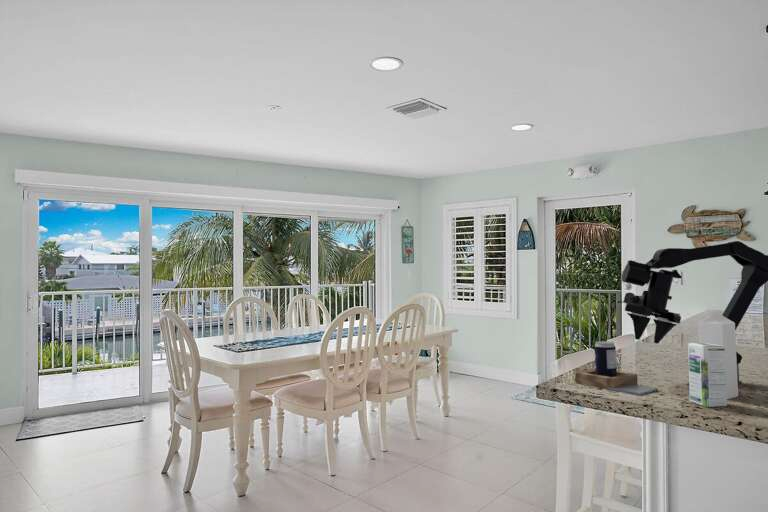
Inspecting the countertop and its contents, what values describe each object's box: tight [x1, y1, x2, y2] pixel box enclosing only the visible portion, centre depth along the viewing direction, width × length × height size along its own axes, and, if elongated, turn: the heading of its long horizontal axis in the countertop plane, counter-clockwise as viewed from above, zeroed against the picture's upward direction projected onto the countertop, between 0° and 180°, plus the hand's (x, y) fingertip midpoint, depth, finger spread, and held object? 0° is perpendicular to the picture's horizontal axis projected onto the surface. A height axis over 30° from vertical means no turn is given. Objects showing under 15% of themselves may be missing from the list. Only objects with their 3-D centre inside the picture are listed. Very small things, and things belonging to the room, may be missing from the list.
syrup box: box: [687, 342, 728, 408], centre depth 122 cm, size 6×6×14 cm
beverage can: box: [594, 340, 617, 377], centre depth 146 cm, size 6×6×12 cm
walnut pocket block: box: [574, 368, 639, 390], centre depth 146 cm, size 12×12×3 cm
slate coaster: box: [607, 384, 658, 396], centre depth 137 cm, size 9×9×1 cm
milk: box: [697, 309, 739, 400], centre depth 130 cm, size 6×6×22 cm
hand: (646, 341), depth 149 cm, fingers open, 9 cm apart
